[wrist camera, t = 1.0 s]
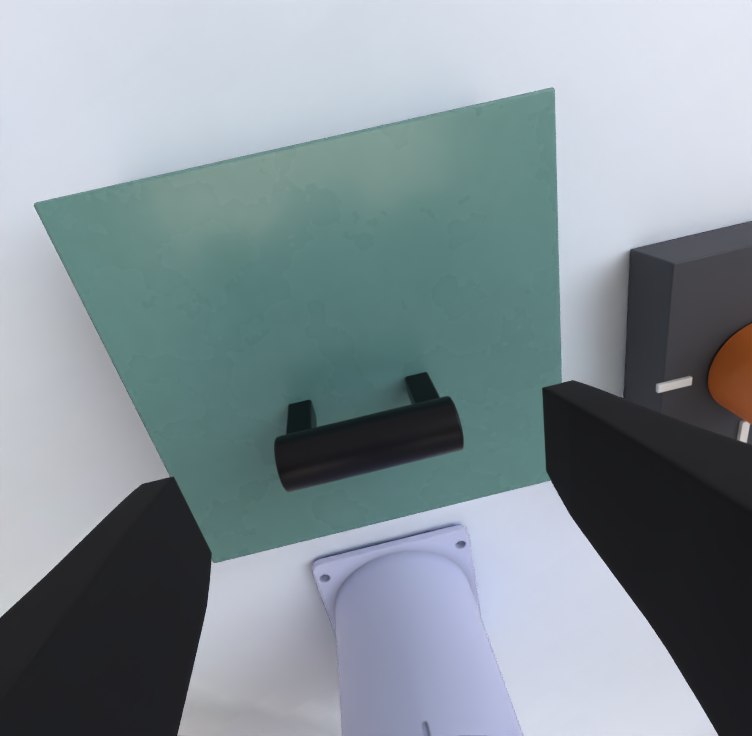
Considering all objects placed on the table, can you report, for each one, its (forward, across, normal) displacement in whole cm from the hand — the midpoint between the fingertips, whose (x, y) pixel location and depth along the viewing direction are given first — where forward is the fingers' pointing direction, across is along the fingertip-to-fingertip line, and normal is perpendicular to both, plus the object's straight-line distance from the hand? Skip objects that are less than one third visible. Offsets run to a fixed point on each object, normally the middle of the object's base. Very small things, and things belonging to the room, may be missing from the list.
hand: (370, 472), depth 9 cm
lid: (+5, 0, 0) cm, 5 cm away
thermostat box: (+10, -16, +5) cm, 19 cm away
